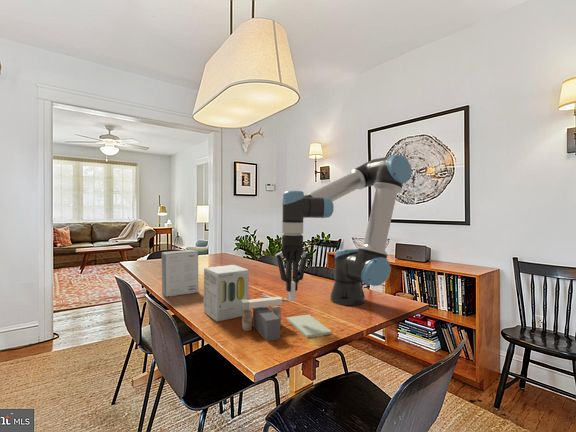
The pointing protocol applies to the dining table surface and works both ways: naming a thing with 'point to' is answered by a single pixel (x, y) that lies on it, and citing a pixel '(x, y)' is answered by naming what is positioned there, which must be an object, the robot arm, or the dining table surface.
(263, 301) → the strap
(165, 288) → the hard drive box
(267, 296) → the scissors
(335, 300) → the robot arm
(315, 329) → the mat
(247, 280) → the supplement box
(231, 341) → the dining table surface
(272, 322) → the dark gray rectangular block
